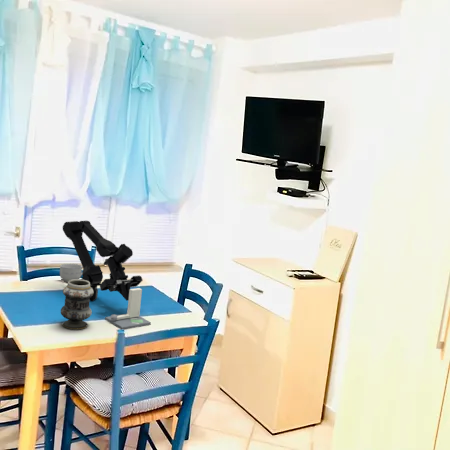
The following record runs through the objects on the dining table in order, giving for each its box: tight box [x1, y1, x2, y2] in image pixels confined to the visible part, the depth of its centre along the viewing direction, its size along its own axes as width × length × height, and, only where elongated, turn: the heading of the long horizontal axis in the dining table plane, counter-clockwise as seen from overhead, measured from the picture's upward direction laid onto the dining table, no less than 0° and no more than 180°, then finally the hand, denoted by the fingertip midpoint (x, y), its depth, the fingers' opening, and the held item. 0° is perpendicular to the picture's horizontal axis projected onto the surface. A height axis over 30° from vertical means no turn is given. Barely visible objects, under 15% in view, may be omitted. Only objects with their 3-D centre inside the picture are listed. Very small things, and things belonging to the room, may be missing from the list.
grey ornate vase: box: [60, 278, 94, 331], centre depth 215 cm, size 12×12×18 cm
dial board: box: [104, 313, 151, 330], centre depth 227 cm, size 13×14×1 cm
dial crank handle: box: [110, 287, 143, 321], centre depth 227 cm, size 2×13×12 cm, turn 134°
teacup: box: [59, 263, 83, 283], centre depth 275 cm, size 14×11×8 cm
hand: (127, 300), depth 233 cm, fingers closed
